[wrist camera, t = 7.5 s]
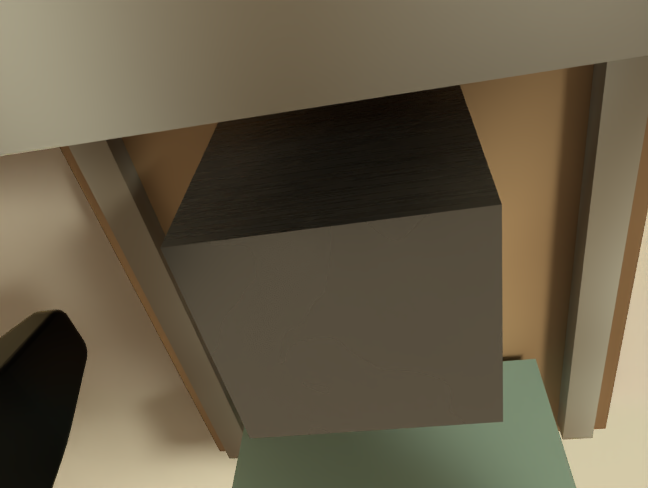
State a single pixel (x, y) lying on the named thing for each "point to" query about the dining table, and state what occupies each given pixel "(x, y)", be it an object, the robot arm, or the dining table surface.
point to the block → (348, 266)
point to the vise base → (346, 86)
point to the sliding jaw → (423, 450)
